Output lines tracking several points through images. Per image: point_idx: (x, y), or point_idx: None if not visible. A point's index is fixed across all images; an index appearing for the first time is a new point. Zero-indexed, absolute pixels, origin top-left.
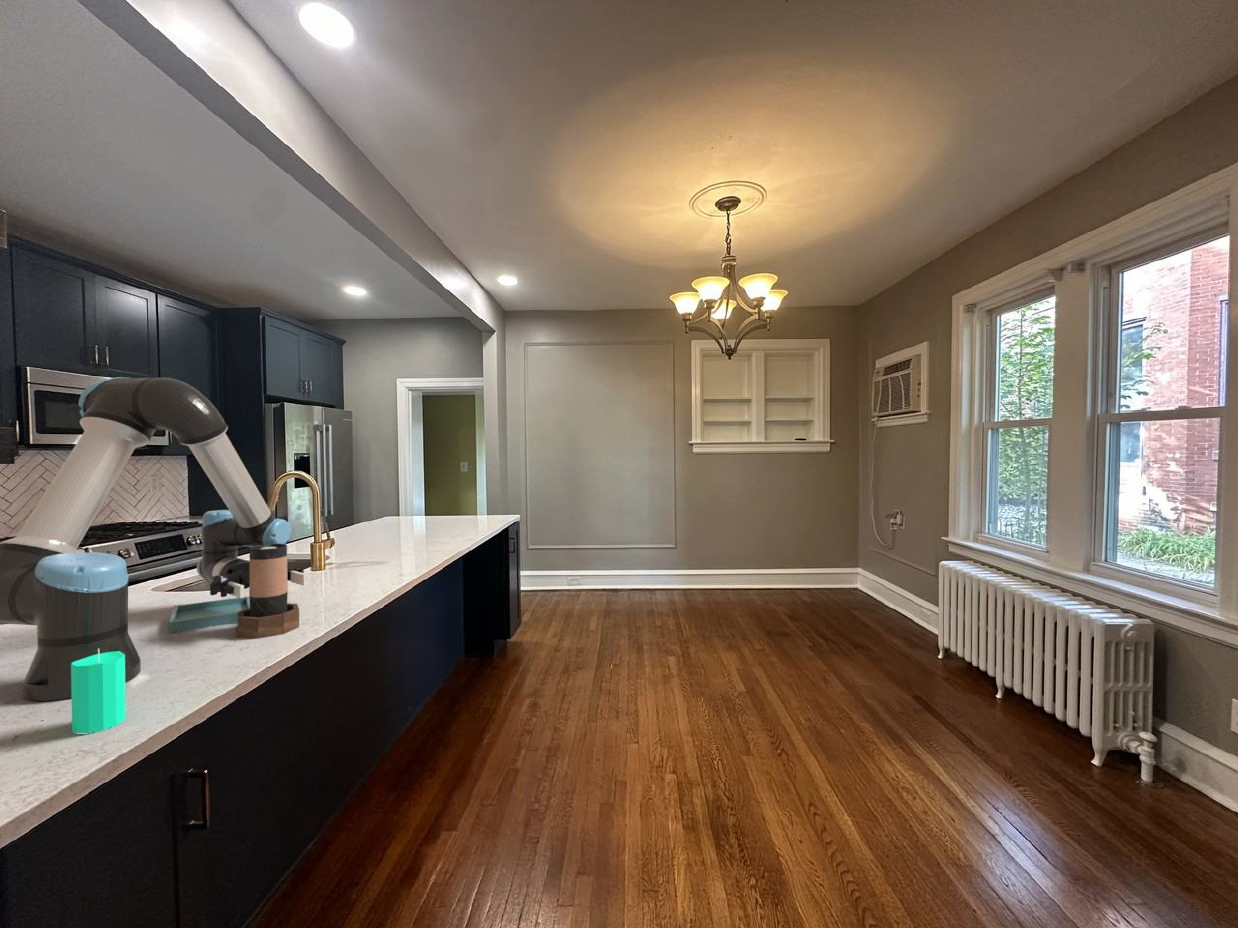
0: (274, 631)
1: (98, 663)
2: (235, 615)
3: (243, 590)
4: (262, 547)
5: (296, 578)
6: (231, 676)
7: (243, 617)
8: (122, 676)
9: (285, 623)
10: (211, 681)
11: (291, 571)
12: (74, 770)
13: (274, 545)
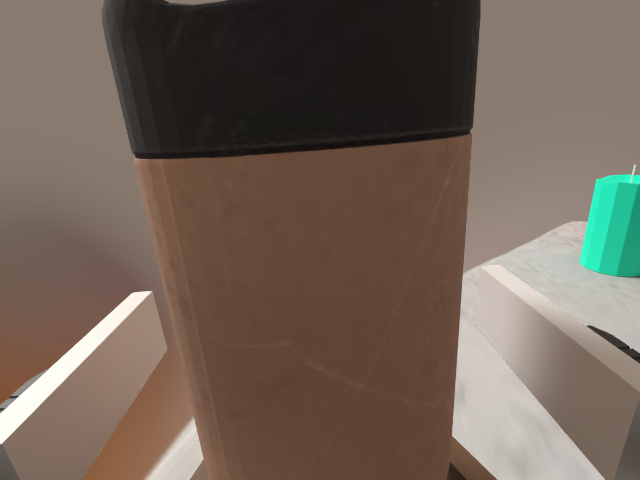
0: None
1: (624, 181)
2: None
3: (480, 290)
4: (277, 4)
5: (110, 388)
6: (468, 291)
7: (472, 465)
8: (591, 205)
9: None
10: None
11: (18, 426)
12: (570, 231)
13: (129, 17)
